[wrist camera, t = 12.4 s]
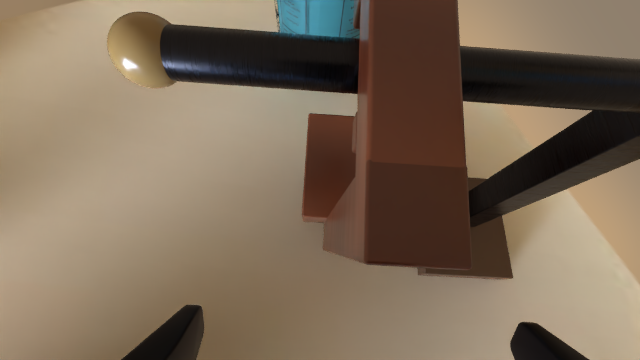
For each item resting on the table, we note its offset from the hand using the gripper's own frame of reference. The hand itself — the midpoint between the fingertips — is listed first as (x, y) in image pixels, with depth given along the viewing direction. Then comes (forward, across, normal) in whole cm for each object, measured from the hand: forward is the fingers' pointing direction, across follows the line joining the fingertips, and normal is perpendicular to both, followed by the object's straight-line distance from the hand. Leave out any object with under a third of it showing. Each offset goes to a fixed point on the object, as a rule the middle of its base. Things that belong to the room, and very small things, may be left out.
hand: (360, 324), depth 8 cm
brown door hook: (+9, 0, 0) cm, 9 cm away
